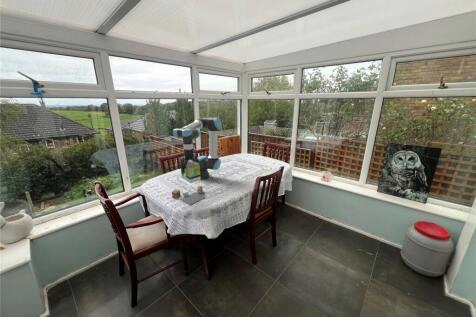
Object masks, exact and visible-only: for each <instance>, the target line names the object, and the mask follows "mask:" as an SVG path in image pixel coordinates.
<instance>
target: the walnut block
mask: <svg viewBox="0 0 476 317" xmlns="http://www.w3.org/2000/svg"><path fill="white" fill-rule="evenodd" d="M180 196H181V190H180V189H174V190H173V191H171V197H172V198H176V199H178V198H180Z"/></svg>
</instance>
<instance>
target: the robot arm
mask: <svg viewBox="0 0 476 317" xmlns="http://www.w3.org/2000/svg"><path fill="white" fill-rule="evenodd" d="M201 129H203V130H207V132H208V133H209V134H208V136H209V138H208V139H209V140H208V142H209V143H208V145H209V146H208V148H209V149H208V150H209V151H208V156H207V155H200V156H198V153H194V140H196V139H198V138H200V136H201V131H200V130H201ZM221 129H222V121H221V119H220V117H215V116H214V117H212V116H210V117H209V116H208V117H207V116H204V117H201V118H198V119H196V120H194V121H193V122H191V123H190V124H187V125H185V126H183V127H180V128H174V129H173V132H172V134H173V135H172V136H173V137H174V138H178V139H182V145H183V154H184V155H183V156H180V162H181V163H180V162H179V170H181V169H182V172H183V174H184V176H185V177H186V169H185V167H186V164H187V162H188V160H192V161H194V162H197V163H199V164H200V179H201V180H206V179H209V178H210V173H209V170H214V171H217V170H219V169H220V167H221V163H222V160H221V159H220V157H219V156H218V155H219V154H218V146H219V145H218V142H219V141H218V140H219V139H218V137H219V132H220V130H221Z"/></svg>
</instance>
